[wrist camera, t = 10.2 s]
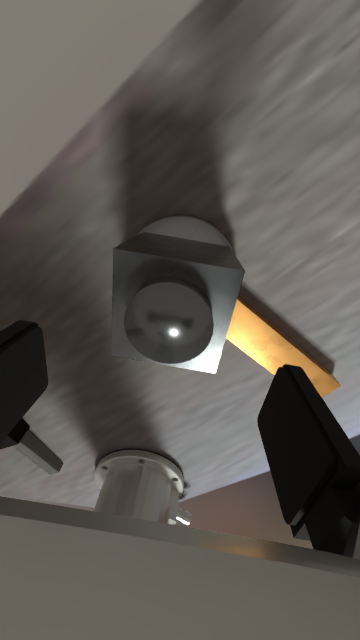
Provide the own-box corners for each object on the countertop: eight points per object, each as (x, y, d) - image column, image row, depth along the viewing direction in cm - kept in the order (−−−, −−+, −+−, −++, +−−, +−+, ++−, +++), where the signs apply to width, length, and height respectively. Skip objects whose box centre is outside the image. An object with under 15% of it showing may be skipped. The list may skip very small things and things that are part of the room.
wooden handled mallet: (359, 356, 22) (397, 393, 18) (283, 406, 26) (300, 447, 22) (171, 187, 17) (162, 183, 13) (109, 279, 21) (85, 300, 16)
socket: (229, 246, 17) (249, 277, 10) (211, 322, 20) (216, 385, 13) (143, 231, 17) (105, 252, 10) (137, 309, 20) (105, 366, 13)
